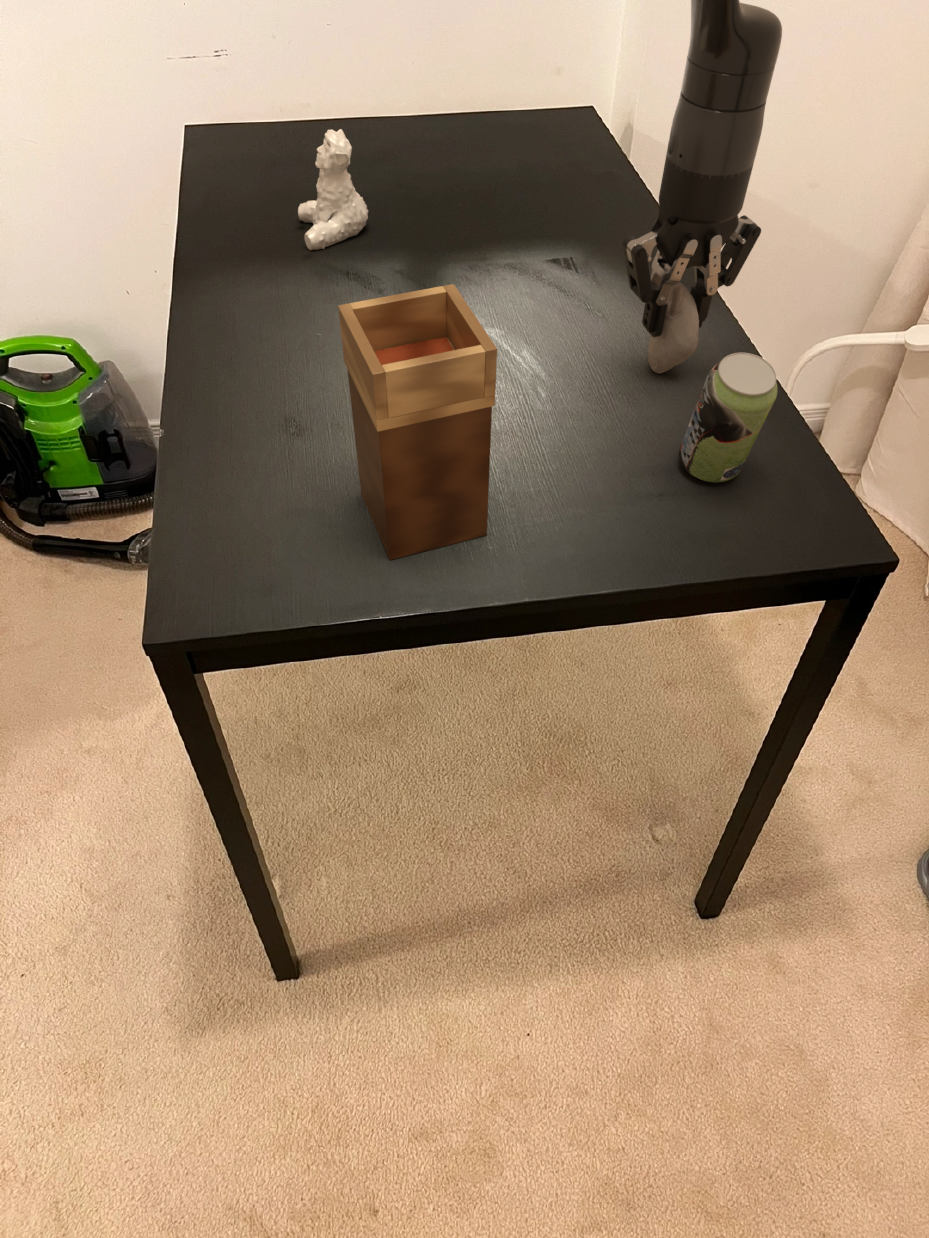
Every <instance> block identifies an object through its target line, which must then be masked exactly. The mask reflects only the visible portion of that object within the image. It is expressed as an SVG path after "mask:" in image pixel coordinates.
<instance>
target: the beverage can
mask: <svg viewBox="0 0 929 1238" xmlns="http://www.w3.org/2000/svg"><path fill="white" fill-rule="evenodd" d="M777 396H778V384H777V373H776V370H775V368H774V367H773V365H772V364H771V363H770V362H768V361H767V360H766V359H764V358H763V357H761V356H759V355H757V354H753V353H749V352H734V353H731V354H728V355H725V357H723V358H722V359H721V361H719V362H717V363H716V364H715V365H714V366H713V367H712V368H711V369H710V370H709V372H708V374H707V376H706V380H705V381H704V384H703V386H702V389H701V392H700V394H699V397H698V399H697V402H696V404H695V407H694V409H693V412H692V415H691V417H690V420H689V423H688V426H687V428H686V430H685V433H684V435H683V437H682V441H681V443H680V446H679V450H678V458H679V461H680V463H681V465H682V467H683V468H684V470H686V471H687V473H689V474H690V475H691V476H693V477H695V478H696V479H699V480H701V481H704V482H708V483H725V482H728V481H730V480H732V479H734V478H735V477H737V476H738V475H739V473H740V472H741V470H742V468H743V466H744V464H745V462H746V460H747V458H748V456H749V454H750V452H751V450H752V448H753V445H754V444H755V442H756V440H757V438H758V435H759V433H760V431H761V429H762V427H763V425H764V424H765V421H766V419H767V417H768V416H769V413H770V411H771V409H772V407H773V405H774V403H775V401H776V399H777Z"/></svg>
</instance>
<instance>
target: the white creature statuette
mask: <svg viewBox="0 0 929 1238" xmlns="http://www.w3.org/2000/svg"><path fill="white" fill-rule="evenodd" d="M316 151H317V153H316V160H315V163H314V164H315V167H316V168H317V169H319V174H318V176H319V177H318V178H317V183H316V185H315V187H316V192H317V193H316V194H317V197H316V200H307V201H306V202H303V203H300V204H299V206H298V208H297V215H298V220H299V221H300V222H301V221H302V222H303V223H308V224H309V223H310V224H313V225H312V226H311V227H310V229H308V230H307V231H306V232H305V234H304V235H303V236H304V242H305V246H306V248H307V249H308V250H309V251H317V250H322V249H323V250H325V248H327V247H330V246H332V245H335V244H337V243H340V242H342V241H346V240H347V239H348V238H352V237H355V236H357V235H358V234H359V233H360V232H361V231H363V228H364V227H365V226H367V221H368V219H369V210H368V205H367V204H366V201H364V198H363V196H361V195H360V193H358V192H357V191H356V188H355V187H354V184H353V181H352V175H351V174H350V172H348V168H349V166H350V165H351V157H352V151H353V147H352V145H351V143H350V140H349V139H348V138H347V137H346V134H345V132H344V130H343V129H342V128H340V129H338V130H337V131H335V130H334V129H333V128H332V129H327V131H326V132H325V133H324V138H323V144H321V145H320V146H318V147H317V148H316Z"/></svg>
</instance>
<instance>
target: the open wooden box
mask: <svg viewBox="0 0 929 1238" xmlns="http://www.w3.org/2000/svg"><path fill="white" fill-rule="evenodd" d="M337 309H338V318H339V328H340V335H341V337H340V338H341V344H342V345H341V347H342V352H343V362H344V364H345V367H346V369H348V370H347V372H348V371H349V373H350V375H351V377H352V379H353V381H354V383H355V385H356V388H357V390H358V392H359V394H360V396H361V398H362V400H363V402H364V404H365V406H366V409H367V411H368V413H369V415H370V417H371V419H372V421H373V423H374V425H375V428H376V430H377V431H378V432H379V431H383V430H388V429H392V428H397V427H401V426H406V425H410V424H415V423H419V422H424V421H428V420H433V419H437V418H442V417H446V416H451V415H455V414H460V413H465V412H469V411H474V410H478V409H483V408H487V407H492V408H493V407H495V406H496V405H495V404H496V389H497V388H496V387H497V386H496V385H497V367H498V365H497V362H498V347H497V346H496V344H494V342H493V340H492V339H491V337H490V336H489V334H488V333H487V331H486V330H485V328H484V327H483V326H482V324H481V322H480V321H479V319H478V318H477V317H476V315H475V314H474V312H473V311H472V309H471V307H470V306H469V304H468V303H467V302H466V300H465V299H464V297H463V295H462V294H461V292H460V291H459V289H458V288H457V286H456V285H455V284H454V283H452V284H447V285H442V286H435V287H430V288H429V287H428V288H424V289H419V290H413V291H408V292H402V293H398V294H397V293H396V294H391V295H387V296H382V297H381V296H380V297H376V298H371V299H370V298H369V299H365V300H360V301H359V300H358V301H354V302H350V303H342V304H338V306H337Z"/></svg>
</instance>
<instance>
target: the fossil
mask: <svg viewBox="0 0 929 1238" xmlns="http://www.w3.org/2000/svg"><path fill="white" fill-rule="evenodd" d="M666 303H667V304H668V306H667V310H666V315H665V320H664V325H663V330H662V334H661V336H658V337H652V336H651V335H650V340H649V344H648V351H647V358H648V359H647V361H648V365H649V367H650V369H651V370H652V371H653V372H654V373H656V374H663V373H666V372H668V371H670V370H671V369H673V368H674V367H675V366H677V365H680V364H682V363H684V362H685V361H687V359H689V358H690V357H691V356H692V355H693V354H694V353H695V352H696V351H697V350H698V346H699V329H700V328H699V318H698V312H697V307H696V303H695V300H694V298H693V296H692V295H691V293H690V291H689V290H688V288H687V287H686V286H685V285H684V284H682V283H681V282H680V281H679V283H678V284H675V285H674V287H673V289H672V291H671V293H670V296H669V298H668V300H667V302H666Z"/></svg>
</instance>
